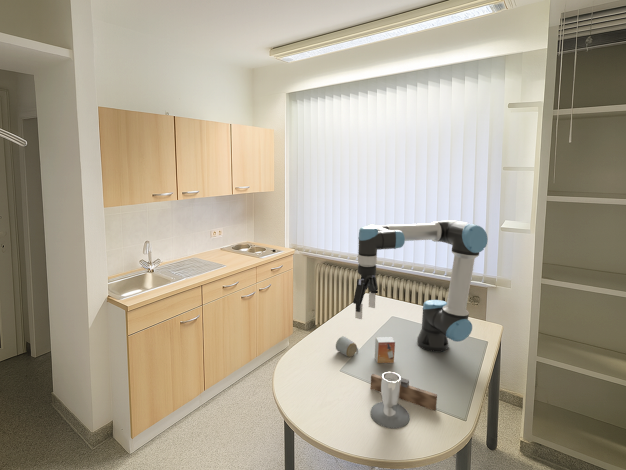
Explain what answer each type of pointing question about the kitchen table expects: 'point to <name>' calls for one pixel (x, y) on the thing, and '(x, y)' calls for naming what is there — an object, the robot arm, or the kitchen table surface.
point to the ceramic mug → (346, 346)
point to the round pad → (390, 423)
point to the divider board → (409, 393)
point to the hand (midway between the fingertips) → (365, 312)
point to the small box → (384, 349)
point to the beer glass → (390, 394)
